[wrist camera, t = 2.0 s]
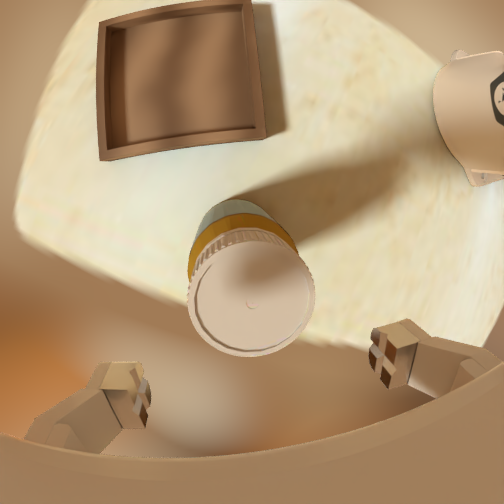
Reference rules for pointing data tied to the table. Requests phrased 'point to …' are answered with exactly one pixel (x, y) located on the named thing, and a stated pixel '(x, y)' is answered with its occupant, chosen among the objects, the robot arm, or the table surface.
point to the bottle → (247, 282)
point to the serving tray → (178, 79)
